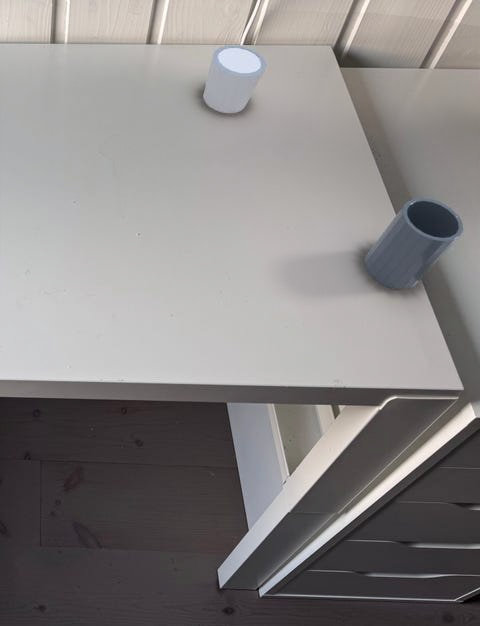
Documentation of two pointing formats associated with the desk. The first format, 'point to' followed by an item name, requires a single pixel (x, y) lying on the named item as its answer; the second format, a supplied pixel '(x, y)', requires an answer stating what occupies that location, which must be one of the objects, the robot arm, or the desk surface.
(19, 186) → the desk surface
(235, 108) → the white cylinder
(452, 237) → the cup
